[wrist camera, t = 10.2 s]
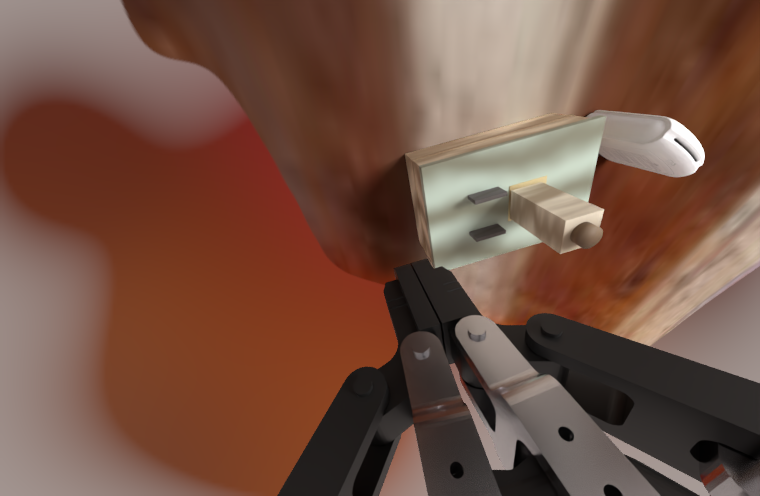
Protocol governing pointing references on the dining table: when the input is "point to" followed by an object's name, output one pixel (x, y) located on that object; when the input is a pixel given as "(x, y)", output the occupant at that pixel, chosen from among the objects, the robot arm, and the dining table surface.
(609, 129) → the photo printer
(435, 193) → the rectangular block
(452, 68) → the dining table surface
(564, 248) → the wooden knobbed block
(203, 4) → the dining table surface
